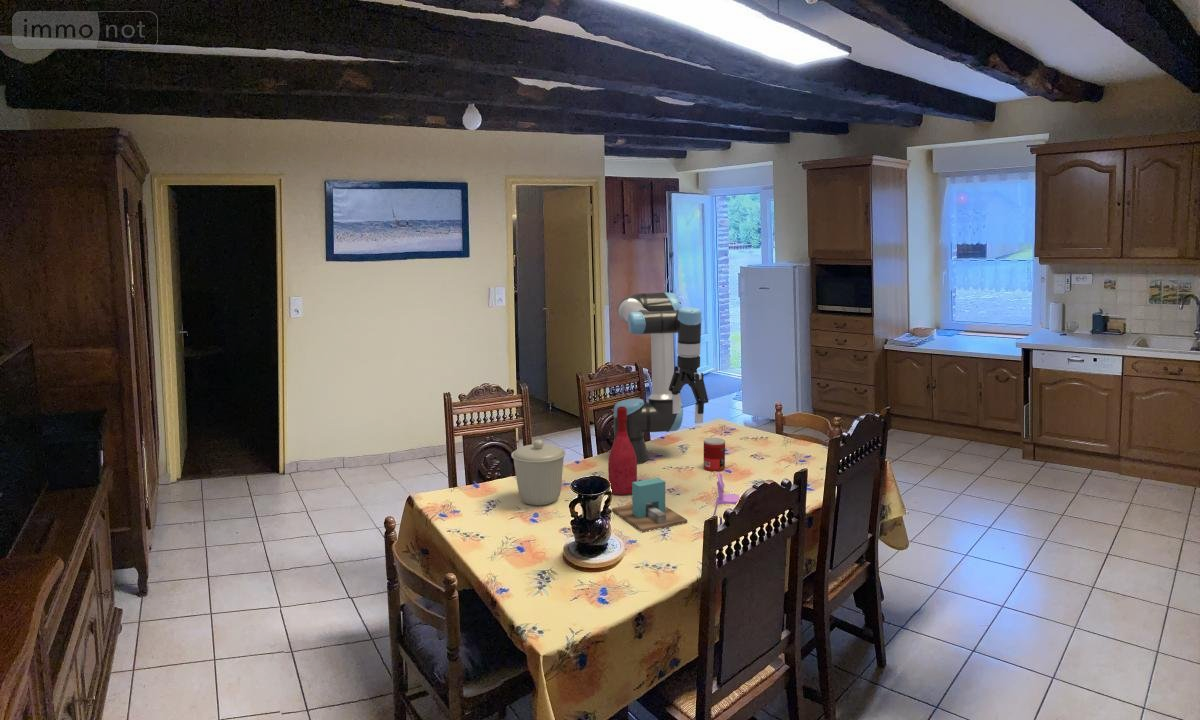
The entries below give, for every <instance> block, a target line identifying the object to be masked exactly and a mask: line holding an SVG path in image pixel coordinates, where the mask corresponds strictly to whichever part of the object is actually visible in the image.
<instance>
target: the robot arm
mask: <svg viewBox="0 0 1200 720" xmlns="http://www.w3.org/2000/svg"><path fill="white" fill-rule="evenodd" d="M617 315H618V317H619V318H620V320H621V321H622V322H623V323H625V324H627V327H628V328H627V329H628V331H629V334H632V335H649V334H650V343H651V344H650V348H651V349H650V351H651V353H650V354H651V356H650V357H651V386H652V387H651V389H652V391H651V394H650V395H649V396H648V402H645V401H644V399H642V398H627V399H626V398H625V399H623V400H620V401H617V402H616V403H615V404H614V407H613V438H614V439H613V443H614V441H615V439H616V436H617V431H618V420H617V409H618V407H626V408H627V420H626V429H627V433H628V437H629V439H630V442H631V444H632V446H633V448H634V451H635V454H636V459H637V465H638V464H642V463H646V462H647V461H648V460H649V458H650V457H649V455H650V454H649V451H648V450H647V445H646V442H645V433H646V434H647V433H658V432H659V433H662V432H663V433H664V432H666V433H669V432H675V431H678V430H680V428H681V427H682V423H683V419H684V417H683V416H684V406H683V402H682V400H681V399H682V398H681V397H682V395H681V391H682V389H683V388H684V386H685V384H687V385H688V387H690V388H691V392H692V394H693V396H694V399H695V404H694V424H697V425H698V424H702V423H704V413H705V404H708V403H709V398H708V393H707V389H706V384H705V380H704V373H703V372H698V369H699V368H700V367H701V356H700V354H701V343H702V342H701V341H702V340H701V339H702V321H703V318H702V310H701V309H700V308H698V307H697V308H696V307H682V308H681V303H680V299H679V297H678V296H677V294H676V293H674V292H666V291H665V292H643V293H642V292H641V293H639V292H638V293H633V294H630V295H628V296H626V297H624V298H623V299H621V301H620V302H619V303H618V306H617ZM674 334H677V345H676V346H677V350H676V352H677V359H676V365H675V364H674V363H675V362H674ZM613 443H612V444H613Z"/></svg>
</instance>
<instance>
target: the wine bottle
mask: <svg viewBox="0 0 1200 720" xmlns="http://www.w3.org/2000/svg"><path fill="white" fill-rule="evenodd" d="M617 420H618V431H617V436H616V439H615V441H614V440H613V442H614V443H612V446H611V448H610V452H609V454H608V455H609V456H608V462H607V463H608V465H607V466H608V467H607V468H608V470H607V471H608V472H607V473H608V482H609V481H610V483H611V489H612V492H611V493H612V494H613V495H618V496H624V495H625V496H626V495H632V482H637V481H638V474H637V473H638V464H637V459H636V454H635V451H634V448H633V446H632V444H631V442H630V439H629V437H628V433H627V429H626V420H627V408H626V407H618V409H617Z"/></svg>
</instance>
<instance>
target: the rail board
mask: <svg viewBox="0 0 1200 720" xmlns="http://www.w3.org/2000/svg"><path fill="white" fill-rule="evenodd" d="M611 511H612V512H613V513H614V514H615V515H617V516H618V515H619V517H620V518H621V517H622V518H621V519H622V520H624V521H625V520H626V521H625V522H626V523H628V522H629V523H628V524H629V525H631V526H632V525H633V526H632V527H634V526H635V527H636V528H635V527H634V528H635V529H637V530H638V529H639V530H640V531H639V530H638V531H639V532H641V531H642V532H641V533H645V532H644V531H647V532H650V531H649V530H651V531H655V530H654V529H656V530H659V529H658V528H661V529H663V527H665V528H669V527H668V526H670V527H674V525H675V526H678V524H679V525H683V524H682V523H684V524H687V523H688V519H687V518H685V517H684V516H682V515H680V514H679V513H677V512H676V511H674V510H672V509H671V508H669V507H668V506H666V505H665V513H663V512H662V511H660V510H659V509H657V508H655V507H654V506H652V502H651V503H646V517H645V518H640V519H639V518H638V517H636V516H635V515H633V514H632V503H631V504H626V505H621V506H615V507H612V508H611Z"/></svg>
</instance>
